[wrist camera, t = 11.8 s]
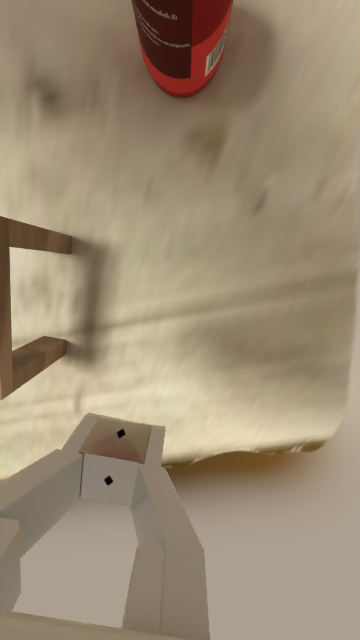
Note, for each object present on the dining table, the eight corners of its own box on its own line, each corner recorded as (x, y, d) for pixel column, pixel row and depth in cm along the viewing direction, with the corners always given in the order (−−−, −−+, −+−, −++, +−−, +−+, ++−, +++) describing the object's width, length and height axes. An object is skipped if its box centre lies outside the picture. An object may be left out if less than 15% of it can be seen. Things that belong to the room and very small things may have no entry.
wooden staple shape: (43, 349, 27) (-34, 394, 17) (45, 231, 23) (-51, 205, 14) (65, 354, 27) (1, 400, 17) (71, 236, 23) (-7, 214, 14)
